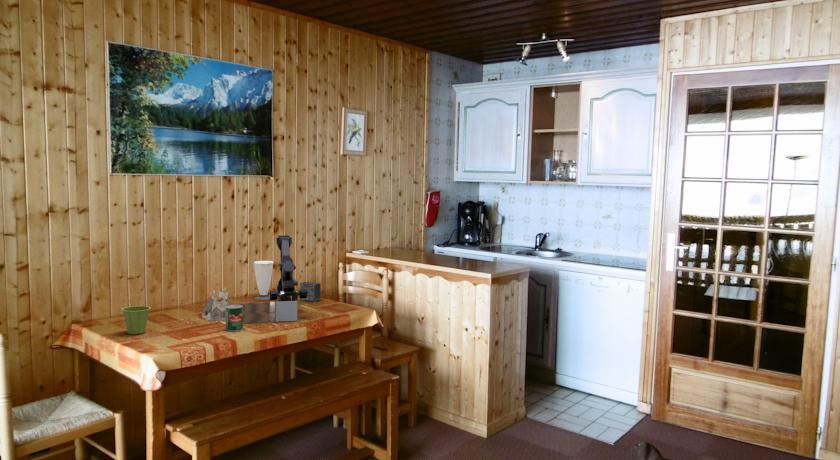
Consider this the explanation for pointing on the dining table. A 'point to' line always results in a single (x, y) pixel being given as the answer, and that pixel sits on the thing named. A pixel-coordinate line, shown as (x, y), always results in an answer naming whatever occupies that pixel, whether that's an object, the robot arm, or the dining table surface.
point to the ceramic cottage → (216, 307)
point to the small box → (312, 291)
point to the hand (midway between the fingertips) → (289, 308)
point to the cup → (263, 278)
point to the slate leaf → (285, 310)
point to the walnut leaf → (257, 313)
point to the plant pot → (136, 318)
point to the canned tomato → (234, 317)
